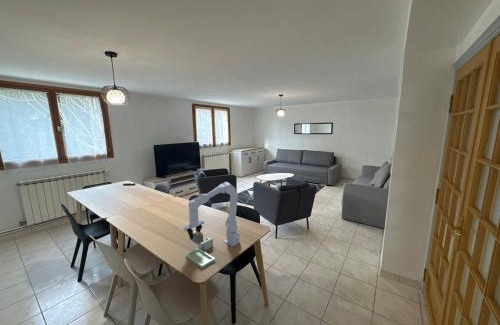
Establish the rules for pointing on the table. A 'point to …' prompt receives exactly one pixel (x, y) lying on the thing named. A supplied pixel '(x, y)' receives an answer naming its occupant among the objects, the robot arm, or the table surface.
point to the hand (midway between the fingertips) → (194, 237)
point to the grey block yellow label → (197, 237)
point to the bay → (206, 244)
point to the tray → (200, 257)
